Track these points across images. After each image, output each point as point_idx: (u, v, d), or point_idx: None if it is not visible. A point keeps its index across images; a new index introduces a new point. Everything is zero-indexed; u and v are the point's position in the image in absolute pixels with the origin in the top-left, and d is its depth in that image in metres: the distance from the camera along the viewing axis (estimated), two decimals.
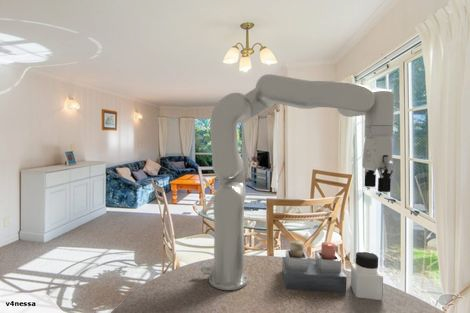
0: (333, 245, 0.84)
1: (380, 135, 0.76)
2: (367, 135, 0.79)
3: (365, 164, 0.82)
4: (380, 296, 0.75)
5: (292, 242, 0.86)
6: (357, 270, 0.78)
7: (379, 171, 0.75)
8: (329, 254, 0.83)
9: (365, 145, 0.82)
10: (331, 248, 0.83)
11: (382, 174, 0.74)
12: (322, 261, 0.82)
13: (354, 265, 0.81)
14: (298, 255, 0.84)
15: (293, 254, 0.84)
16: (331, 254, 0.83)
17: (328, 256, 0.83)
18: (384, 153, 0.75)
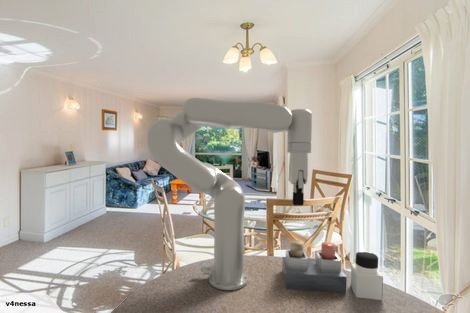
0: (333, 245, 0.84)
1: (297, 151, 0.81)
2: (288, 151, 0.84)
3: None
4: (380, 296, 0.75)
5: (292, 242, 0.86)
6: (357, 270, 0.78)
7: (294, 186, 0.84)
8: (329, 254, 0.83)
9: None
10: (331, 248, 0.83)
11: (295, 191, 0.84)
12: (322, 261, 0.82)
13: (354, 265, 0.81)
14: (298, 255, 0.84)
15: (293, 254, 0.84)
16: (331, 254, 0.83)
17: (328, 256, 0.83)
18: (300, 168, 0.80)
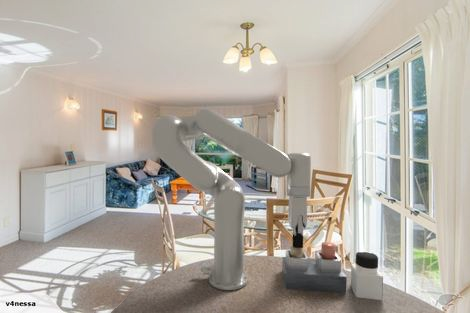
0: (333, 245, 0.84)
1: (296, 196, 0.82)
2: (287, 194, 0.85)
3: (288, 219, 0.88)
4: (380, 296, 0.75)
5: (292, 246, 0.86)
6: (357, 270, 0.78)
7: (294, 229, 0.84)
8: (329, 254, 0.83)
9: None
10: (331, 248, 0.83)
11: (295, 234, 0.84)
12: (322, 261, 0.82)
13: (354, 265, 0.81)
14: None
15: None
16: (331, 254, 0.83)
17: (328, 256, 0.83)
18: (299, 213, 0.81)
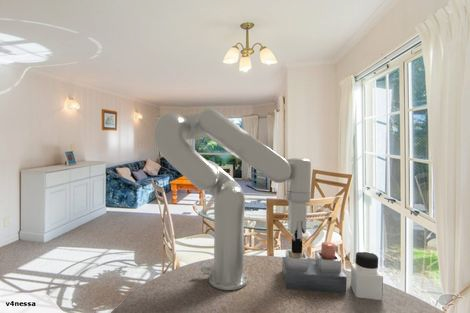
0: (333, 245, 0.84)
1: (296, 201, 0.82)
2: (287, 199, 0.85)
3: None
4: (380, 296, 0.75)
5: None
6: (357, 270, 0.78)
7: (293, 235, 0.84)
8: (329, 254, 0.83)
9: None
10: (331, 248, 0.83)
11: (294, 239, 0.84)
12: (322, 261, 0.82)
13: (354, 265, 0.81)
14: None
15: None
16: (331, 254, 0.83)
17: (328, 256, 0.83)
18: (298, 219, 0.81)
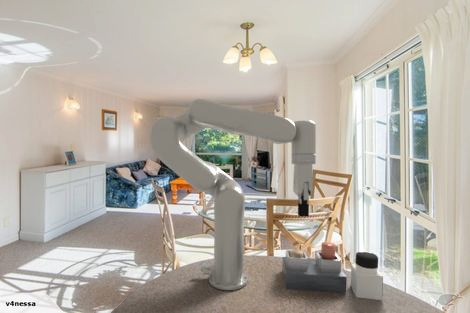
0: (333, 245, 0.84)
1: (302, 163, 0.81)
2: (292, 162, 0.84)
3: (293, 188, 0.87)
4: (380, 296, 0.75)
5: (292, 251, 0.86)
6: (357, 270, 0.78)
7: (299, 198, 0.84)
8: (329, 254, 0.83)
9: None
10: (331, 248, 0.83)
11: (300, 202, 0.84)
12: (322, 261, 0.82)
13: (354, 265, 0.81)
14: None
15: None
16: (331, 254, 0.83)
17: (328, 256, 0.83)
18: (305, 180, 0.80)
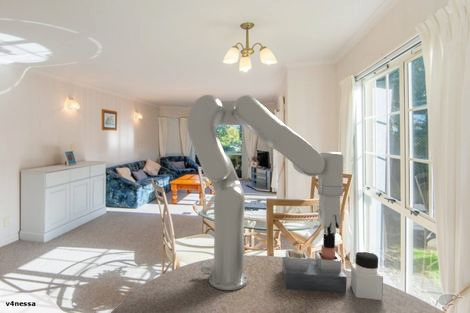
0: (333, 248, 0.84)
1: (329, 195, 0.81)
2: (319, 193, 0.84)
3: (319, 219, 0.87)
4: (380, 296, 0.75)
5: (292, 251, 0.86)
6: (357, 270, 0.78)
7: (326, 229, 0.83)
8: (329, 256, 0.83)
9: (319, 200, 0.87)
10: (331, 251, 0.83)
11: (327, 234, 0.83)
12: (322, 261, 0.82)
13: (354, 265, 0.81)
14: None
15: None
16: (331, 257, 0.83)
17: None
18: (333, 213, 0.80)
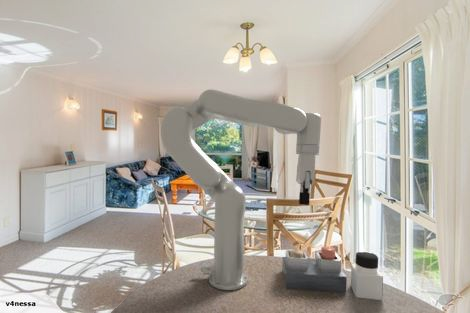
0: (333, 250, 0.84)
1: (305, 153, 0.85)
2: (296, 152, 0.88)
3: (296, 178, 0.91)
4: (380, 296, 0.75)
5: (292, 251, 0.86)
6: (357, 270, 0.78)
7: (301, 187, 0.88)
8: (329, 258, 0.83)
9: None
10: (331, 253, 0.83)
11: (302, 191, 0.87)
12: (322, 261, 0.82)
13: (354, 265, 0.81)
14: None
15: None
16: None
17: None
18: (307, 169, 0.84)
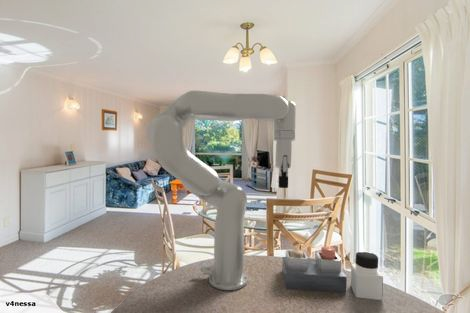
0: (333, 250, 0.84)
1: (282, 138, 0.90)
2: (274, 138, 0.93)
3: (275, 163, 0.96)
4: (380, 296, 0.75)
5: (292, 251, 0.86)
6: (357, 270, 0.78)
7: (280, 171, 0.93)
8: (329, 258, 0.83)
9: None
10: (331, 253, 0.83)
11: (280, 175, 0.93)
12: (322, 261, 0.82)
13: (354, 265, 0.81)
14: None
15: None
16: None
17: None
18: (284, 154, 0.89)
